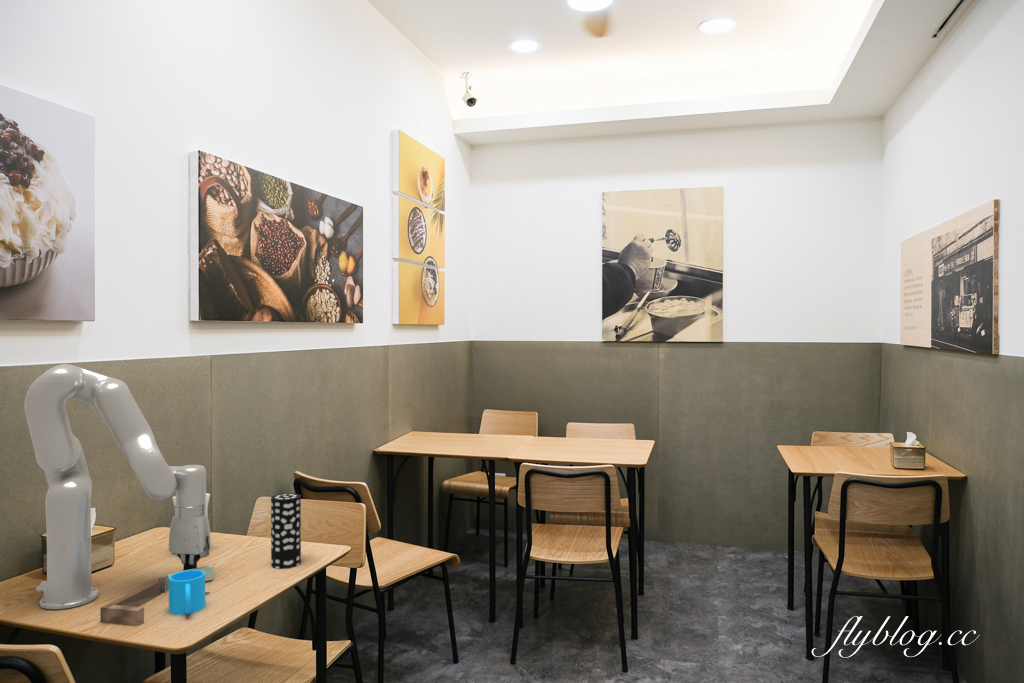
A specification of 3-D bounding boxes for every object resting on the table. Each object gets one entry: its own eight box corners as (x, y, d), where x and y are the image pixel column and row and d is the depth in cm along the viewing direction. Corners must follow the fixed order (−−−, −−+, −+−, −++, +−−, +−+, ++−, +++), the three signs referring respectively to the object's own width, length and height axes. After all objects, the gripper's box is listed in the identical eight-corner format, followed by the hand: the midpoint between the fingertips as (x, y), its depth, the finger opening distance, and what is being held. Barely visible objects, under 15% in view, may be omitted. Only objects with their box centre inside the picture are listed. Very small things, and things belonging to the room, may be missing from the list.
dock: (100, 622, 161) (100, 607, 161) (162, 589, 182) (162, 576, 182) (152, 627, 159) (152, 612, 159) (209, 593, 180) (209, 579, 180)
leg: (168, 589, 181) (168, 576, 180) (166, 587, 182) (166, 574, 182) (213, 579, 188) (213, 566, 188) (210, 577, 190) (210, 564, 190)
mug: (168, 605, 172) (168, 572, 172) (204, 599, 175) (204, 567, 175) (169, 623, 161) (168, 588, 161) (206, 616, 165) (206, 583, 165)
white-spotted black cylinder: (265, 567, 200) (265, 498, 199) (282, 558, 208) (282, 492, 207) (289, 570, 197) (289, 500, 197) (306, 561, 205) (306, 494, 205)
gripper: (157, 512, 186) (156, 579, 186) (206, 515, 183) (206, 584, 183) (175, 505, 193) (174, 570, 193) (223, 509, 190) (222, 574, 191)
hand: (190, 577), depth 188 cm, fingers closed
